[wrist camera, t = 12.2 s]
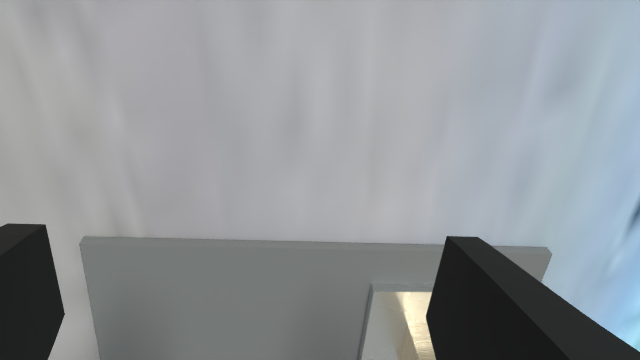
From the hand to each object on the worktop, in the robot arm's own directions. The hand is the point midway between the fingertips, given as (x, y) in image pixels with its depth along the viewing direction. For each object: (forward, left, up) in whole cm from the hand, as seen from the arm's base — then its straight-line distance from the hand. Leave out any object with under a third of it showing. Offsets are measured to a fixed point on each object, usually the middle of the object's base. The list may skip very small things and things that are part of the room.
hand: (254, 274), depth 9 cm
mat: (+3, -16, -9) cm, 19 cm away
